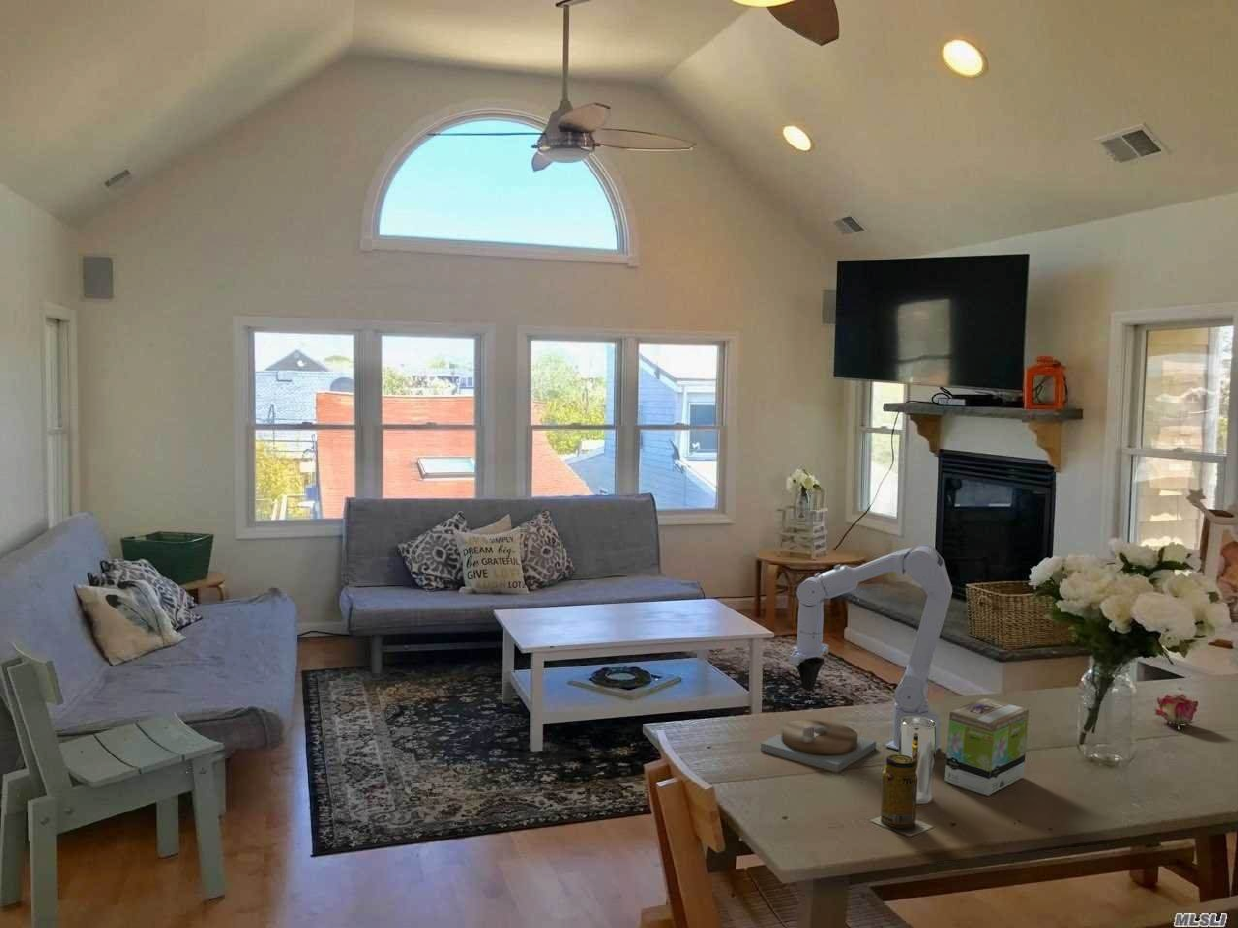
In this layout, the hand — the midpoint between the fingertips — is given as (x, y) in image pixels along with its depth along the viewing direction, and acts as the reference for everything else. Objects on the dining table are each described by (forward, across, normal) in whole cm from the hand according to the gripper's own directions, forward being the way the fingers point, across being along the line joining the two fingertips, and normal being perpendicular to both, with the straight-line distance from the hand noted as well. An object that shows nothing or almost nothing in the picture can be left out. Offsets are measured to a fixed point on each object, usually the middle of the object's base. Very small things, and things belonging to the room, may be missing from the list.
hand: (807, 689), depth 233 cm
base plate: (+9, +9, +8) cm, 15 cm away
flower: (+10, -63, +63) cm, 90 cm away
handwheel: (+7, +9, +8) cm, 14 cm away
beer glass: (+10, +19, +34) cm, 40 cm away
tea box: (+10, +1, +41) cm, 42 cm away
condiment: (+10, +32, +37) cm, 50 cm away
